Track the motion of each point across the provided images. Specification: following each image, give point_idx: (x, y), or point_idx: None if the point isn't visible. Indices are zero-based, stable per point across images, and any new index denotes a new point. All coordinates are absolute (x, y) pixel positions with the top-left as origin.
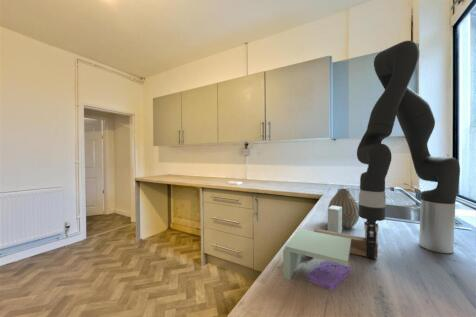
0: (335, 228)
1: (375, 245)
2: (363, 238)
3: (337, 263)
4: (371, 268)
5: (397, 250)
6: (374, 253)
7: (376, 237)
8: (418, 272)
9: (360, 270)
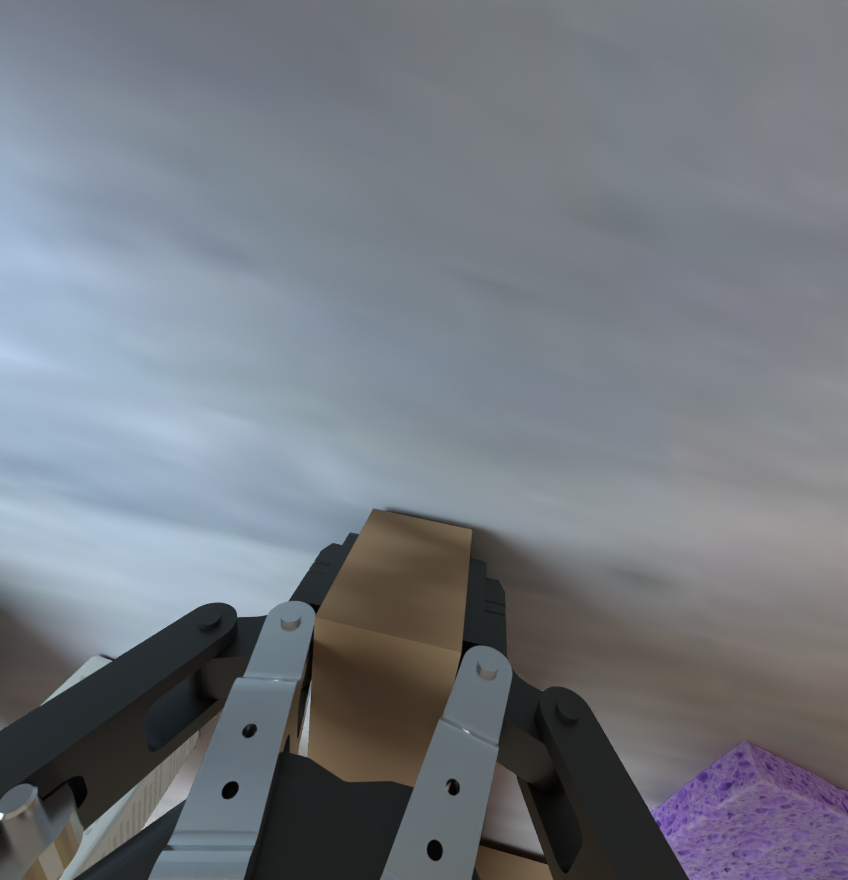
0: (135, 803)
1: (602, 733)
2: (348, 738)
3: (706, 825)
4: (651, 603)
5: (145, 276)
6: (485, 591)
7: (488, 784)
8: (626, 207)
9: (707, 679)
